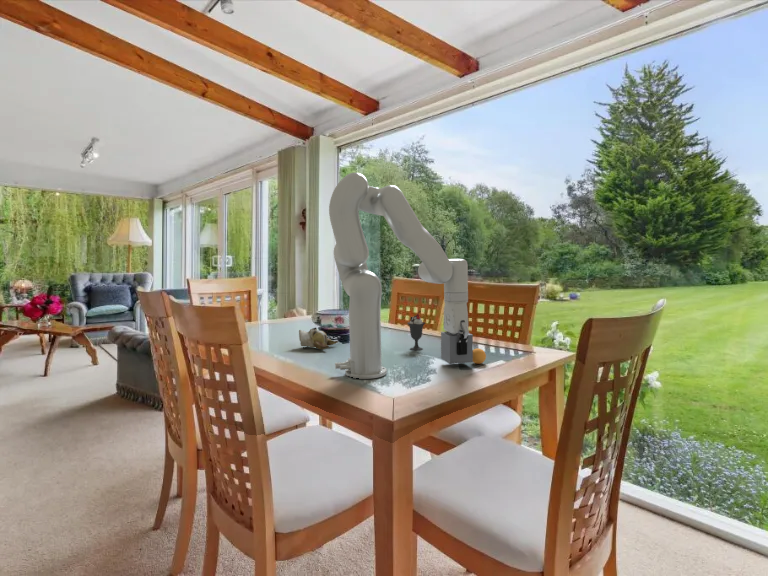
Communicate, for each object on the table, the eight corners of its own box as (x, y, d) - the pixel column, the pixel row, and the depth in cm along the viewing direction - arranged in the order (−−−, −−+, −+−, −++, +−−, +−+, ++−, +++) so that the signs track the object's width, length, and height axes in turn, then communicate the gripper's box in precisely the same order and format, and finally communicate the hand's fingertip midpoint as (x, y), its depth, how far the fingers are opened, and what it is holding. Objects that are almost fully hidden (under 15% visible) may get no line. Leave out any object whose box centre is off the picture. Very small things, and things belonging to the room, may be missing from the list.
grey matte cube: (449, 363, 135) (449, 336, 135) (441, 358, 143) (441, 331, 142) (472, 362, 137) (472, 334, 136) (462, 356, 145) (462, 330, 144)
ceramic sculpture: (305, 323, 177) (339, 326, 173) (305, 344, 178) (338, 348, 174) (292, 328, 167) (328, 331, 163) (292, 350, 168) (327, 354, 164)
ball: (483, 347, 139) (491, 358, 140) (476, 343, 144) (484, 355, 145) (471, 357, 138) (479, 368, 139) (464, 353, 143) (473, 364, 144)
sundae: (424, 351, 161) (423, 311, 160) (406, 350, 163) (406, 311, 162) (426, 347, 168) (425, 309, 167) (409, 347, 169) (408, 309, 168)
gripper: (435, 295, 146) (436, 347, 147) (455, 300, 129) (456, 358, 131) (456, 294, 148) (457, 345, 149) (478, 299, 131) (479, 356, 132)
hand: (456, 351), depth 140 cm, fingers closed on grey matte cube, 7 cm apart
